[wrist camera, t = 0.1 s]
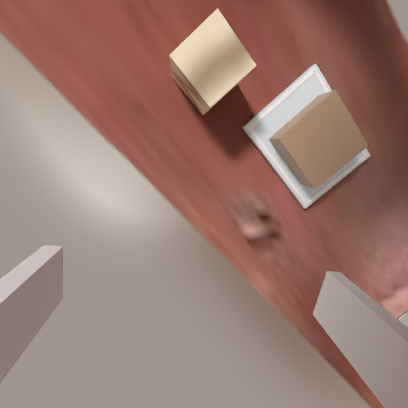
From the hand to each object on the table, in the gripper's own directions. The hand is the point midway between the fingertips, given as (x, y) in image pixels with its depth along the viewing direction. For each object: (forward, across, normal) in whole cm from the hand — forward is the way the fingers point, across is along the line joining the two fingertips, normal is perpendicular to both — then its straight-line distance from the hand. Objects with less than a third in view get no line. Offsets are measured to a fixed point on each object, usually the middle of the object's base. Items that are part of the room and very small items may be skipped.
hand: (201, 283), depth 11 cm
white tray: (+28, +19, +10) cm, 35 cm away
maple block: (+28, +1, +16) cm, 32 cm away
